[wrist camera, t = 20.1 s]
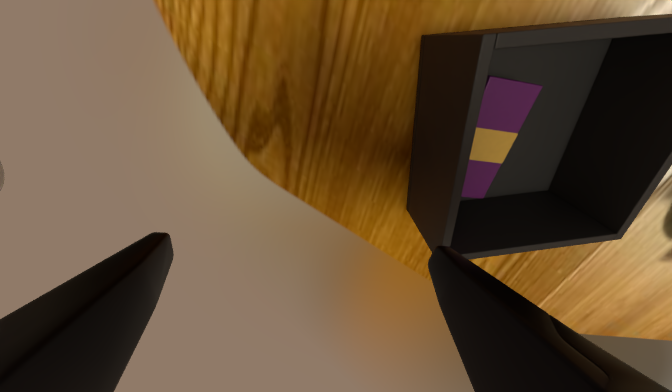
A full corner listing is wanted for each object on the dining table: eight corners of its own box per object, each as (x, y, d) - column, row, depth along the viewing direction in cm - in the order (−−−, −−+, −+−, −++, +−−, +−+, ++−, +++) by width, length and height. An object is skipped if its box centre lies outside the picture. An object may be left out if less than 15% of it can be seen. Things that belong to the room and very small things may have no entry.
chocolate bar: (465, 183, 21) (483, 199, 19) (425, 178, 21) (439, 195, 19) (514, 79, 17) (544, 85, 15) (466, 70, 17) (490, 75, 15)
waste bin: (406, 209, 23) (438, 264, 17) (421, 35, 16) (483, 33, 10) (547, 192, 23) (621, 239, 18) (621, 17, 16) (781, 6, 11)
